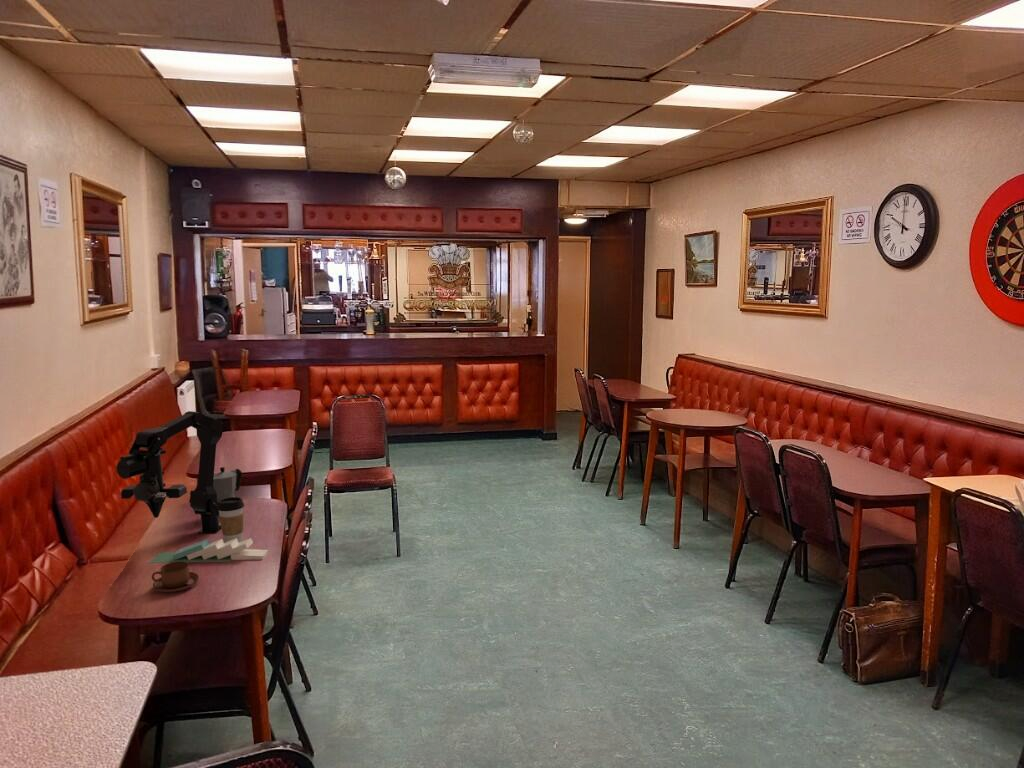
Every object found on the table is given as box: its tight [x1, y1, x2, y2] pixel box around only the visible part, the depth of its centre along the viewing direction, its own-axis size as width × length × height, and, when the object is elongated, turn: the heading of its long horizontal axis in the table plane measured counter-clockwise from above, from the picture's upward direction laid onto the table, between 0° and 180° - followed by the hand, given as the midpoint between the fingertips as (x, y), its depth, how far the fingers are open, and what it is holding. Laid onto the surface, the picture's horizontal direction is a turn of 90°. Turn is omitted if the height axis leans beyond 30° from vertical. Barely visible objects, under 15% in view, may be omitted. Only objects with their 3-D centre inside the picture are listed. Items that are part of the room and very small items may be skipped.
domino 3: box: [202, 538, 239, 560], centre depth 230 cm, size 5×2×10 cm
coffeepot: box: [213, 467, 243, 517], centre depth 272 cm, size 15×9×18 cm, turn 154°
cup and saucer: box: [151, 562, 199, 593], centre depth 210 cm, size 12×12×6 cm
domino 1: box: [172, 538, 211, 560], centre depth 230 cm, size 5×2×10 cm
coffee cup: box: [217, 496, 245, 543], centre depth 242 cm, size 8×8×15 cm
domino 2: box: [187, 538, 224, 560], centre depth 230 cm, size 5×2×10 cm
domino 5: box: [231, 548, 269, 561], centre depth 230 cm, size 5×2×10 cm
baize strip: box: [148, 551, 232, 564], centre depth 231 cm, size 8×26×1 cm, turn 89°
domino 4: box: [216, 537, 254, 560], centre depth 230 cm, size 5×2×10 cm
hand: (156, 517), depth 234 cm, fingers closed
